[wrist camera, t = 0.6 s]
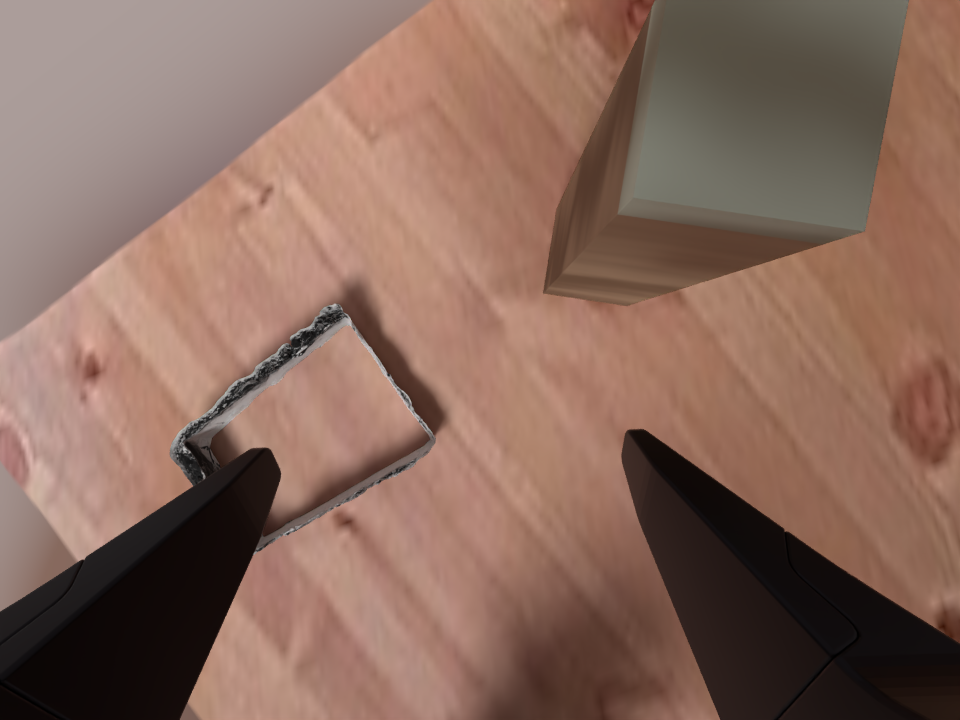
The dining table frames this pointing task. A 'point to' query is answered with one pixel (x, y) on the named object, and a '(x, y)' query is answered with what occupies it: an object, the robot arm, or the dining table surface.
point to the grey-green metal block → (728, 144)
